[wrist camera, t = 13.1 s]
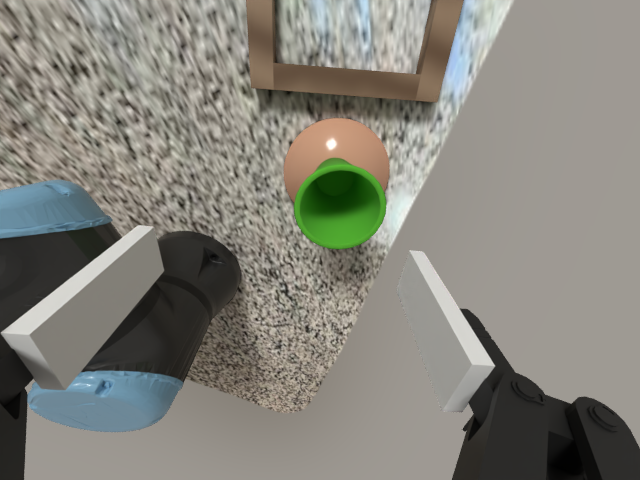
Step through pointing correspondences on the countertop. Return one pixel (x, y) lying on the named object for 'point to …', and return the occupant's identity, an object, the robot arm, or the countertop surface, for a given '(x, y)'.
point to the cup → (339, 205)
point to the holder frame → (351, 80)
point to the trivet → (334, 151)
